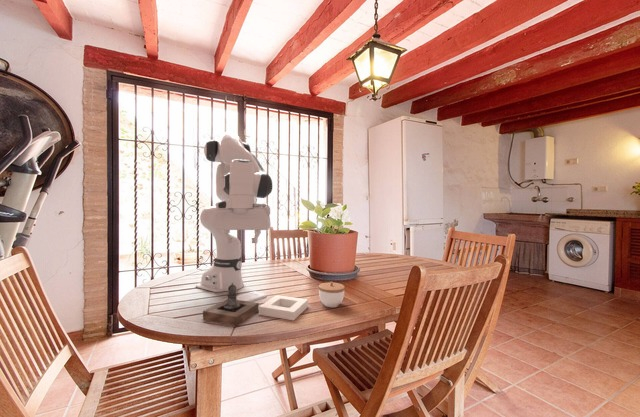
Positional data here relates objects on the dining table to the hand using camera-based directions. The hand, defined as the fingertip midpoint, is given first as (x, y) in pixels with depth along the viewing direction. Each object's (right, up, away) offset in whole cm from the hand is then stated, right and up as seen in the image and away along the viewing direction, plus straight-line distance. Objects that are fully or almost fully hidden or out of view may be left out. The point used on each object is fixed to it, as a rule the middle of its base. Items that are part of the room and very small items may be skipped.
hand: (242, 242), depth 103 cm
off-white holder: (+14, -27, +9) cm, 32 cm away
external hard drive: (-3, -27, +22) cm, 35 cm away
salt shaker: (-5, -27, +4) cm, 28 cm away
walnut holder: (-5, -27, +4) cm, 28 cm away
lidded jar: (+32, -28, +17) cm, 46 cm away
